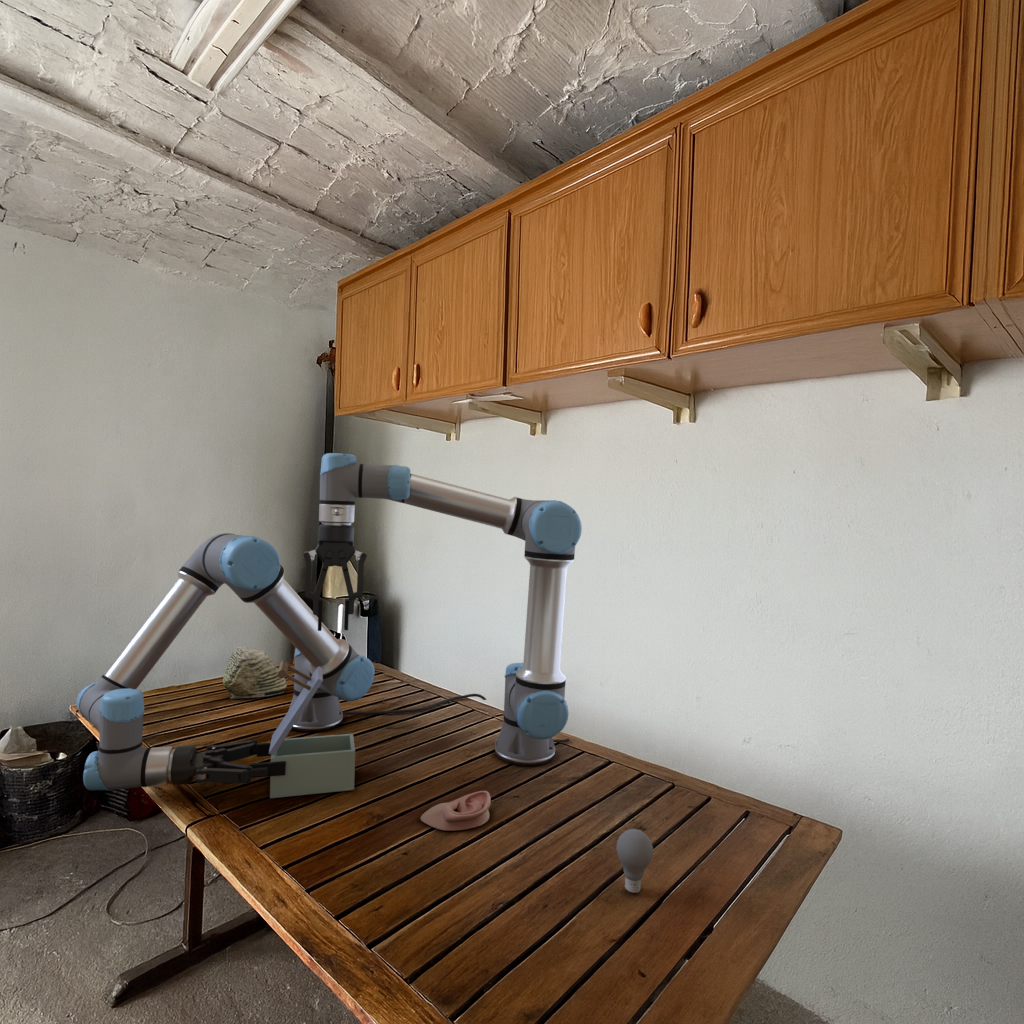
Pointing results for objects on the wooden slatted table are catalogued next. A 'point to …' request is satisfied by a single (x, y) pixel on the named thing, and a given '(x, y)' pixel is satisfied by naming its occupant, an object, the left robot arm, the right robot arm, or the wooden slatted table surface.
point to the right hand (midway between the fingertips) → (332, 629)
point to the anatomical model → (459, 812)
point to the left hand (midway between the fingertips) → (286, 757)
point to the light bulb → (634, 857)
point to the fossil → (252, 674)
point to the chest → (314, 765)
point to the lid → (298, 704)
